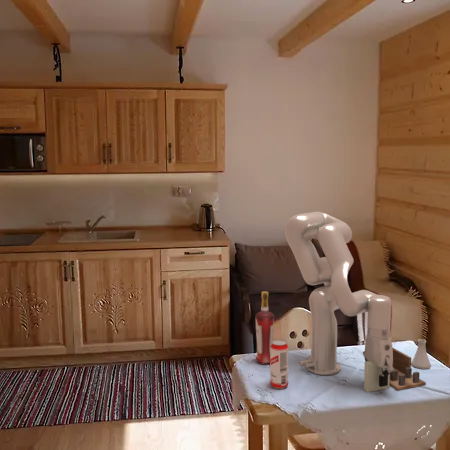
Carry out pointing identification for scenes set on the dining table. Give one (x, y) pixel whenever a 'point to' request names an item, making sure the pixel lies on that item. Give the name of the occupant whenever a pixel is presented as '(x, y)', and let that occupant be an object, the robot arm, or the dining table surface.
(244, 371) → the dining table surface
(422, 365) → the flask
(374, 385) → the block
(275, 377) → the beer can
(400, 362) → the cabinet
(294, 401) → the dining table surface
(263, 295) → the liquor
